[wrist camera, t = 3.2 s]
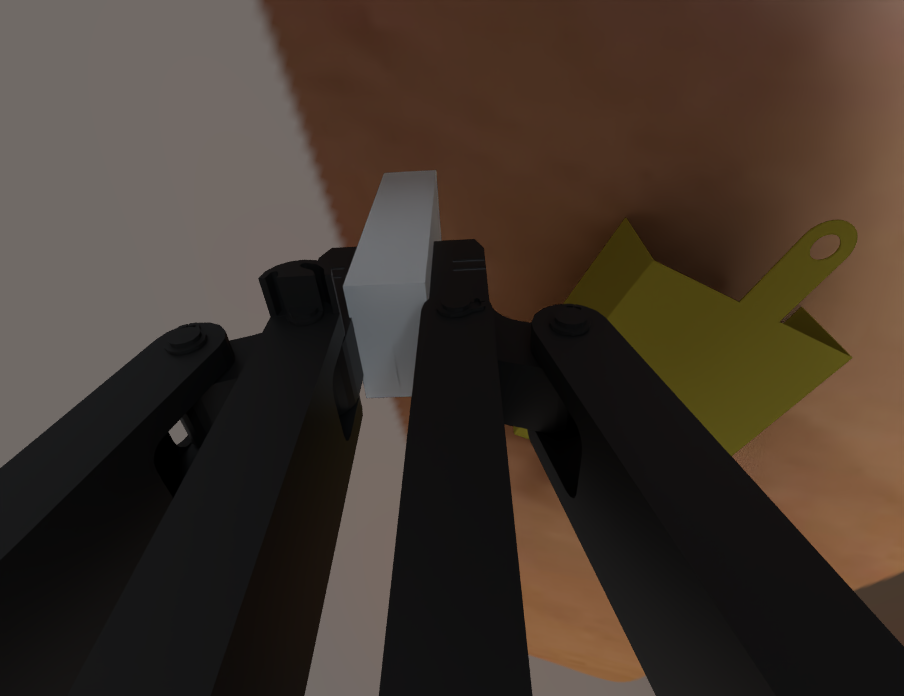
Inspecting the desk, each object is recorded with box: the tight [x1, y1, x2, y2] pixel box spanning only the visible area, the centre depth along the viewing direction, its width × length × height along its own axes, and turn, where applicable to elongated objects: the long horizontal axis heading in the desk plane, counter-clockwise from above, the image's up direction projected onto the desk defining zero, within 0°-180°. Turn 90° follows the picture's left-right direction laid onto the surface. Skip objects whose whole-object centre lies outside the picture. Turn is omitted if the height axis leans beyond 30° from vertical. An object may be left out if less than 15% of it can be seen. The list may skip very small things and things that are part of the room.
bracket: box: [513, 217, 857, 456], centre depth 22 cm, size 16×8×15 cm
